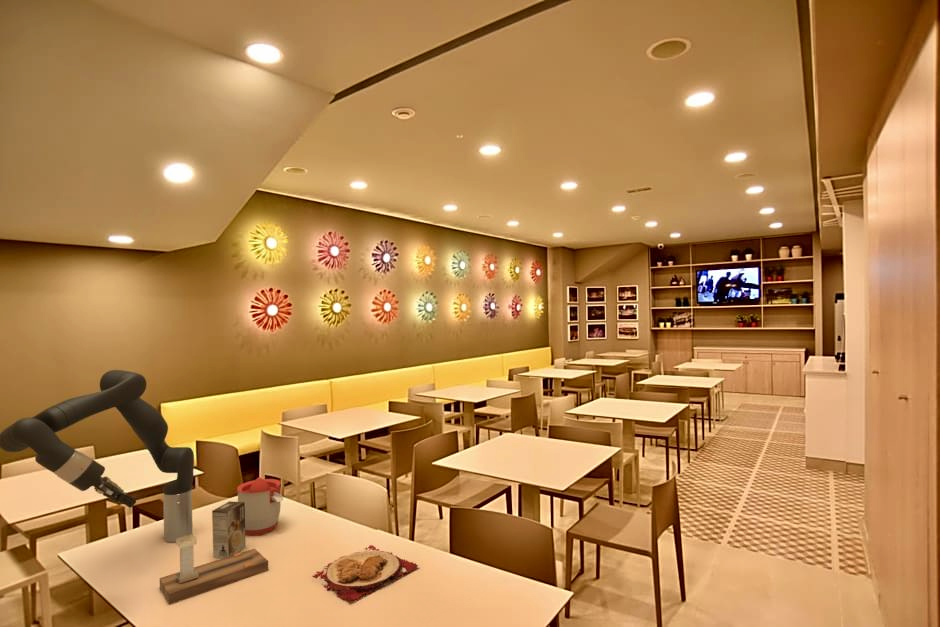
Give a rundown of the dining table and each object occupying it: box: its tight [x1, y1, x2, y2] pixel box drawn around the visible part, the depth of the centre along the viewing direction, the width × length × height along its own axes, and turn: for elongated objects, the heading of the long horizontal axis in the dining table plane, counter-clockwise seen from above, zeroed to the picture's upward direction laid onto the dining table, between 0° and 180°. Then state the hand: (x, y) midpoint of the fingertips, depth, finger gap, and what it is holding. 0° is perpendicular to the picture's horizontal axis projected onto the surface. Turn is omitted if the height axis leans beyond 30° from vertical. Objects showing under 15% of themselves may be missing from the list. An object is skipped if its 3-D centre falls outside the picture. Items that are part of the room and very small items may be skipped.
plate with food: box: [311, 545, 419, 602], centre depth 161 cm, size 25×26×4 cm
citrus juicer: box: [236, 477, 284, 536], centre depth 194 cm, size 16×17×20 cm
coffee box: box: [211, 500, 247, 559], centre depth 176 cm, size 9×6×16 cm
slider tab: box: [175, 533, 198, 583], centre depth 153 cm, size 5×5×12 cm
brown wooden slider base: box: [159, 548, 269, 605], centre depth 158 cm, size 12×28×3 cm, turn 132°
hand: (132, 503), depth 147 cm, fingers closed
